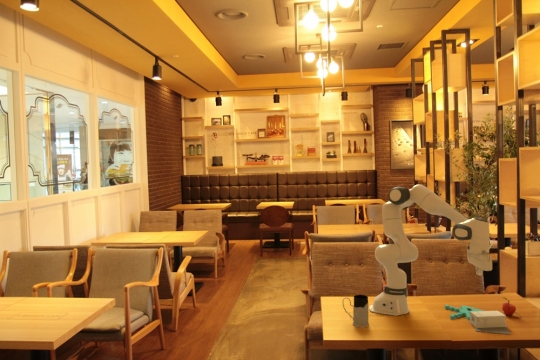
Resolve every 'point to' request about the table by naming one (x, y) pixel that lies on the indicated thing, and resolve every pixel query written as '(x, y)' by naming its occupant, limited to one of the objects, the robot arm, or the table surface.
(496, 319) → the skincare box
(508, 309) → the apple
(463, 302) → the table surface
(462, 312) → the alien figure
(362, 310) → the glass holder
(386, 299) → the robot arm
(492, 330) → the mat
